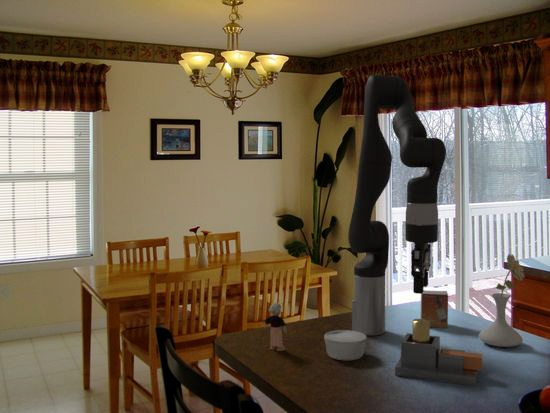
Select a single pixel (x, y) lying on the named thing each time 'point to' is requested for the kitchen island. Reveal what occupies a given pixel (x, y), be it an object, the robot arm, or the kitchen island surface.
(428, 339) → the brass peg
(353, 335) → the ramekin
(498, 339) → the flower in vase
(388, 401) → the kitchen island surface
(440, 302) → the small box
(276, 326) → the grandmother figurine
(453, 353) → the lock pin
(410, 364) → the dock
